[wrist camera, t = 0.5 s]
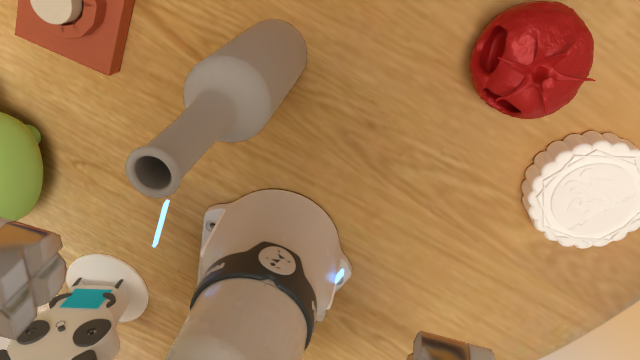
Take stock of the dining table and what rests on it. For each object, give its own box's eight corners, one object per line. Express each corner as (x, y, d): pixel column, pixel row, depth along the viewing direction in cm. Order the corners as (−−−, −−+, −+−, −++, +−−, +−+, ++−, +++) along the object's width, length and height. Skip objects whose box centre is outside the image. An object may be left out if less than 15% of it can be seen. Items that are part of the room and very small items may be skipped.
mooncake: (609, 105, 46) (626, 118, 43) (667, 194, 49) (686, 212, 46) (497, 174, 51) (505, 190, 47) (557, 251, 54) (567, 271, 51)
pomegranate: (573, -18, 42) (618, -8, 34) (580, 91, 46) (622, 125, 38) (457, 13, 44) (472, 30, 36) (473, 115, 48) (490, 151, 40)
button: (79, 28, 46) (68, 31, 44) (38, 10, 45) (26, 13, 44) (86, -13, 44) (75, -11, 42) (44, -32, 44) (31, -31, 42)
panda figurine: (143, 254, 62) (75, 341, 48) (161, 322, 67) (103, 418, 53) (57, 251, 63) (-32, 335, 50) (80, 318, 68) (6, 410, 55)
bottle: (275, 4, 46) (141, 79, 21) (320, 58, 48) (246, 187, 23) (228, 49, 48) (58, 164, 24) (273, 98, 50) (158, 254, 25)
